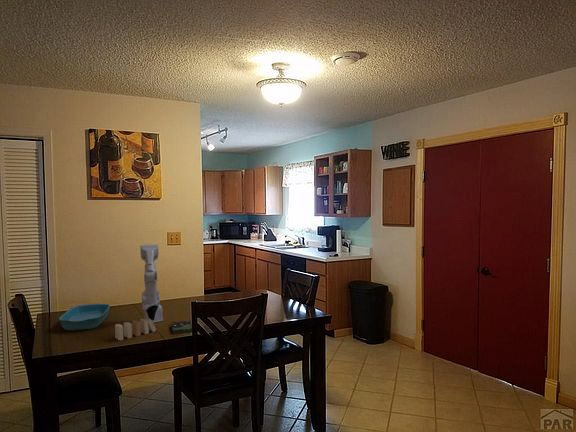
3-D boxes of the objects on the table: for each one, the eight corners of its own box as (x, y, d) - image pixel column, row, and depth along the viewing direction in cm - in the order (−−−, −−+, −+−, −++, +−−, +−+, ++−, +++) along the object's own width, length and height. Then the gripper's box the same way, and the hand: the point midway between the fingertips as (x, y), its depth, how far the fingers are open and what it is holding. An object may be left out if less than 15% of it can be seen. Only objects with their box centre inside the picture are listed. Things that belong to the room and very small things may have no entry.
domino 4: (144, 331, 219) (143, 318, 219) (149, 333, 216) (147, 320, 215) (141, 332, 218) (139, 319, 217) (145, 334, 215) (143, 321, 214)
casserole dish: (99, 331, 222) (99, 318, 221) (54, 334, 217) (53, 321, 217) (113, 313, 258) (113, 302, 257) (74, 316, 253) (74, 304, 253)
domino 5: (152, 327, 222) (146, 317, 220) (156, 329, 219) (151, 319, 217) (149, 330, 221) (143, 319, 219) (153, 332, 218) (147, 321, 215)
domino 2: (128, 335, 213) (127, 321, 213) (132, 337, 210) (131, 323, 209) (124, 336, 212) (123, 322, 212) (128, 338, 208) (127, 324, 208)
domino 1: (119, 337, 210) (118, 323, 210) (123, 339, 206) (123, 325, 206) (115, 338, 209) (114, 324, 208) (119, 340, 205) (119, 326, 205)
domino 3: (136, 333, 216) (136, 320, 216) (140, 335, 213) (140, 321, 212) (132, 334, 215) (132, 320, 215) (136, 336, 211) (136, 322, 211)
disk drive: (170, 327, 228) (172, 335, 214) (170, 322, 228) (172, 329, 214) (189, 325, 231) (193, 332, 217) (189, 320, 231) (192, 327, 217)
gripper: (151, 291, 227) (151, 315, 227) (136, 297, 213) (137, 323, 213) (163, 291, 226) (163, 316, 226) (149, 297, 211) (150, 324, 212)
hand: (151, 319), depth 220 cm, fingers closed
